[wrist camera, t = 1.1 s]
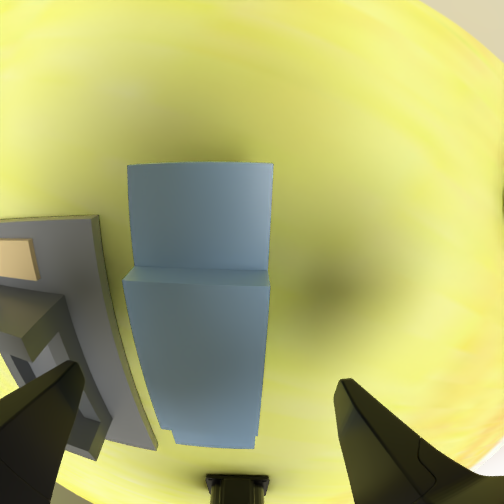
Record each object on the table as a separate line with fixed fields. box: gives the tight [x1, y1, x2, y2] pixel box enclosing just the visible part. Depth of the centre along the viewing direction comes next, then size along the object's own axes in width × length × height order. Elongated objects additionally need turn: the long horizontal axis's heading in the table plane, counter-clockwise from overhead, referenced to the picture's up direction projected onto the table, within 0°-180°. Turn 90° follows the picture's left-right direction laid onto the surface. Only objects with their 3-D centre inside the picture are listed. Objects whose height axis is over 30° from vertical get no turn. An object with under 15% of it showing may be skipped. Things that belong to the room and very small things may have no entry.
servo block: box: [122, 162, 273, 449], centre depth 11 cm, size 13×4×6 cm, turn 178°
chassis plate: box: [0, 215, 158, 461], centre depth 13 cm, size 20×14×5 cm
